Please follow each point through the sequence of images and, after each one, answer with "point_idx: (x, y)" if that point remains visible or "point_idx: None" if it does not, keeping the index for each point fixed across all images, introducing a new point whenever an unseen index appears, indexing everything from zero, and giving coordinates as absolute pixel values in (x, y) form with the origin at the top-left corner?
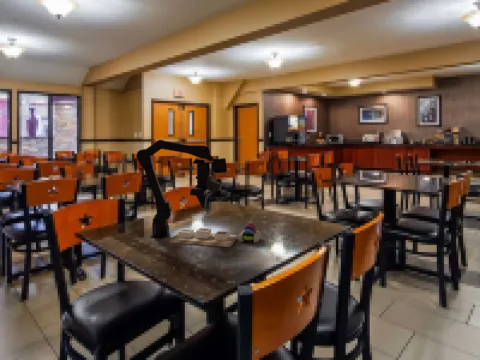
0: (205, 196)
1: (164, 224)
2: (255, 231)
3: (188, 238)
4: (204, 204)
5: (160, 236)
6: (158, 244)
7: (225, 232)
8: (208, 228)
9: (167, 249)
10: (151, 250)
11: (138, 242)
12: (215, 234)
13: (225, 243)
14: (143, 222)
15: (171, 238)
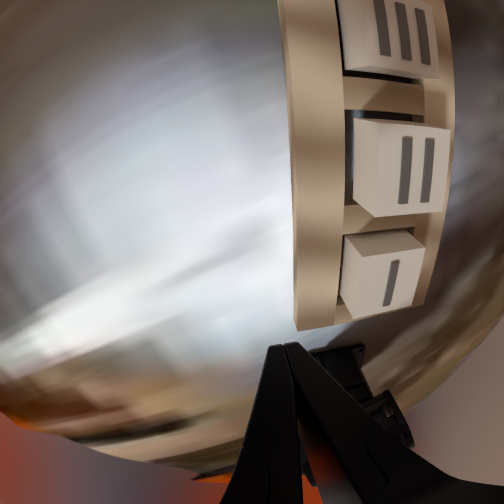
0: (474, 491)
1: (370, 393)
2: None
3: (419, 233)
4: (338, 385)
5: (358, 359)
6: (431, 314)
7: (384, 7)
8: (382, 146)
9: (478, 257)
10: (477, 295)
11: (405, 370)
12: (438, 72)
13: (446, 16)
14: (183, 454)
15: (416, 302)
